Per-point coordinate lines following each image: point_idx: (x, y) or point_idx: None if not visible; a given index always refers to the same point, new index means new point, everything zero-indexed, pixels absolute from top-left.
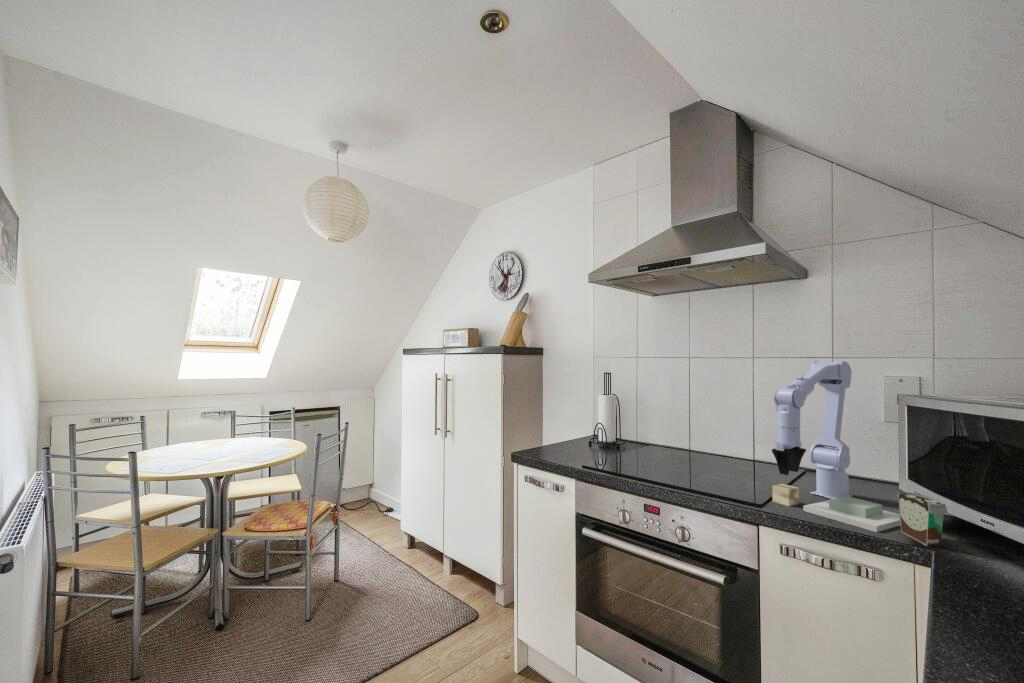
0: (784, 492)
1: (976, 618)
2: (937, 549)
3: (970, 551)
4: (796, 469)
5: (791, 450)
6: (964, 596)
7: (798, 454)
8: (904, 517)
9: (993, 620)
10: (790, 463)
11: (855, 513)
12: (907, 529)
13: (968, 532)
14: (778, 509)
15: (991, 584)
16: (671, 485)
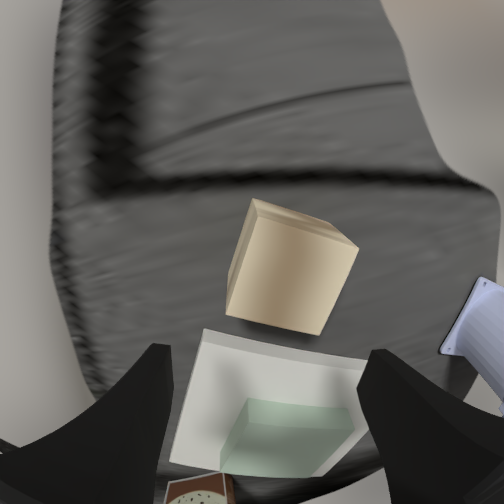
0: (232, 281)
1: (6, 449)
2: (166, 485)
3: None
4: (363, 399)
5: (448, 495)
6: None
7: (403, 502)
8: (215, 499)
9: None
10: (398, 394)
11: (225, 445)
12: (208, 483)
13: (321, 493)
14: (134, 257)
15: None
16: None
